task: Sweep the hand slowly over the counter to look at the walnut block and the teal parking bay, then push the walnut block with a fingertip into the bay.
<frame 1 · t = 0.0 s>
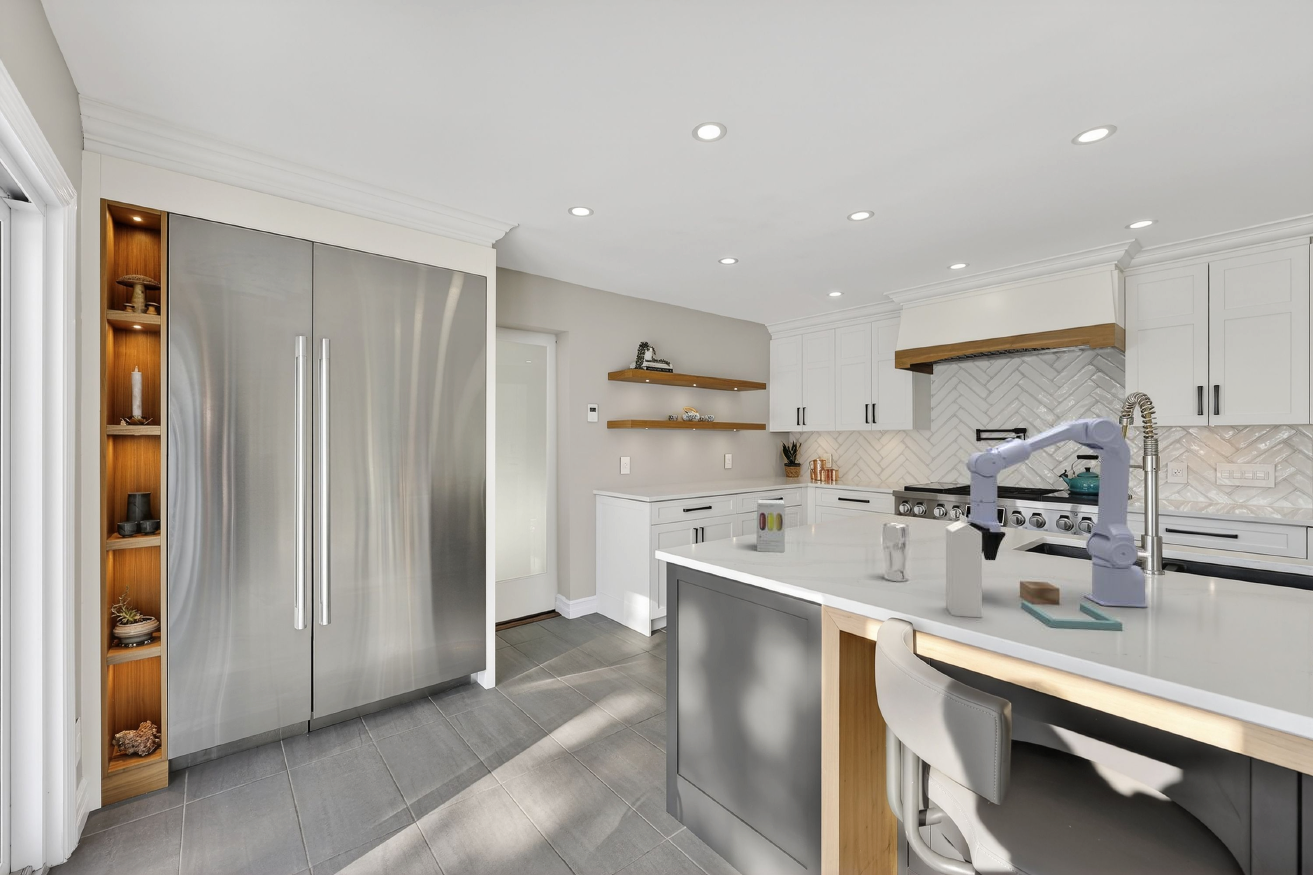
hand: (983, 556, 141), 10 cm above the counter, tool pointing down, fingers open, 7 cm apart
walnut block: (1039, 601, 138), on the counter
beer glass: (895, 579, 159), on the counter
supplement box: (770, 549, 199), on the counter
teal parking bay: (1068, 618, 125), on the counter
milk: (963, 613, 130), on the counter
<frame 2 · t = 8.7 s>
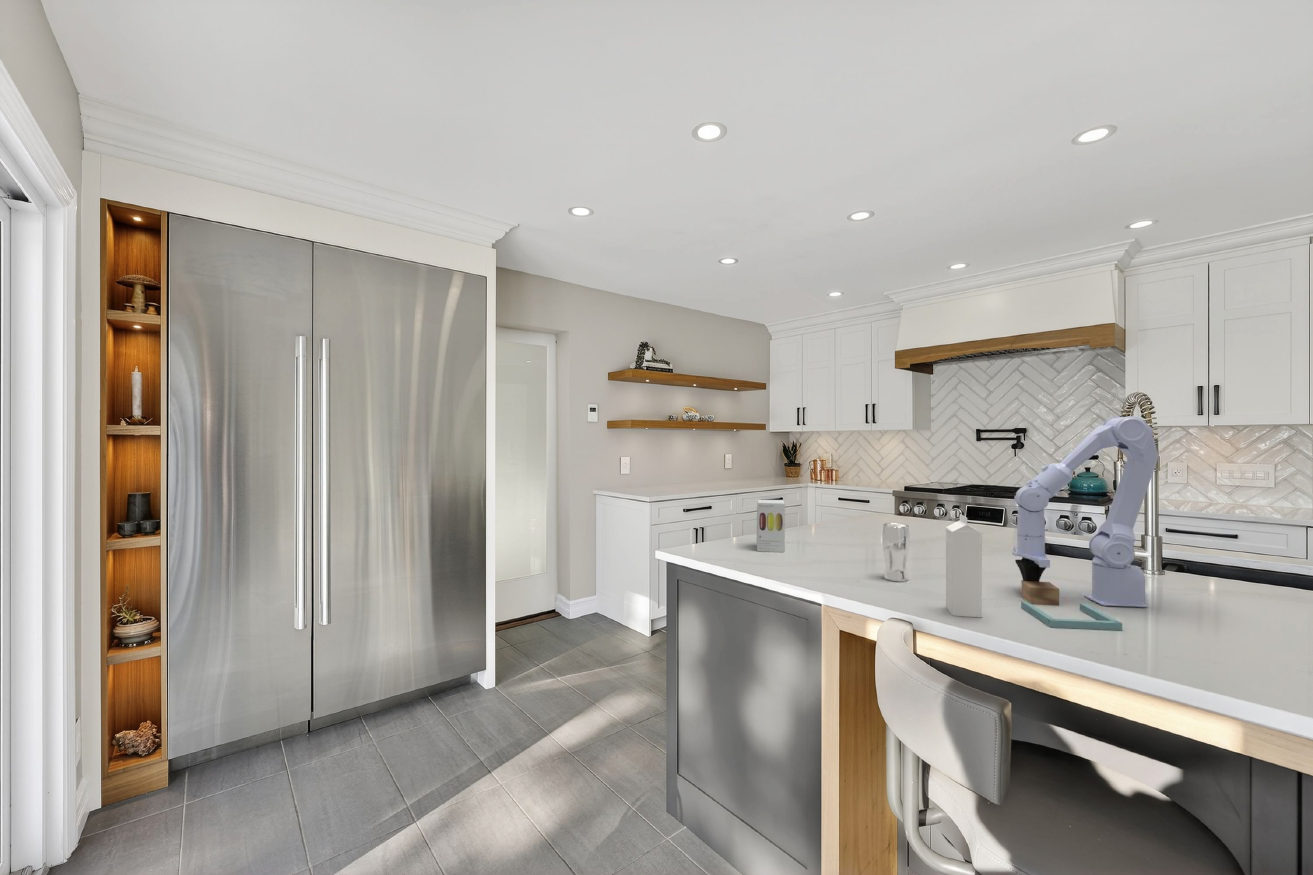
hand: (1030, 589, 142), 1 cm above the counter, tool pointing down, fingers closed
walnut block: (1039, 601, 138), on the counter, touching gripper
everything else where it was.
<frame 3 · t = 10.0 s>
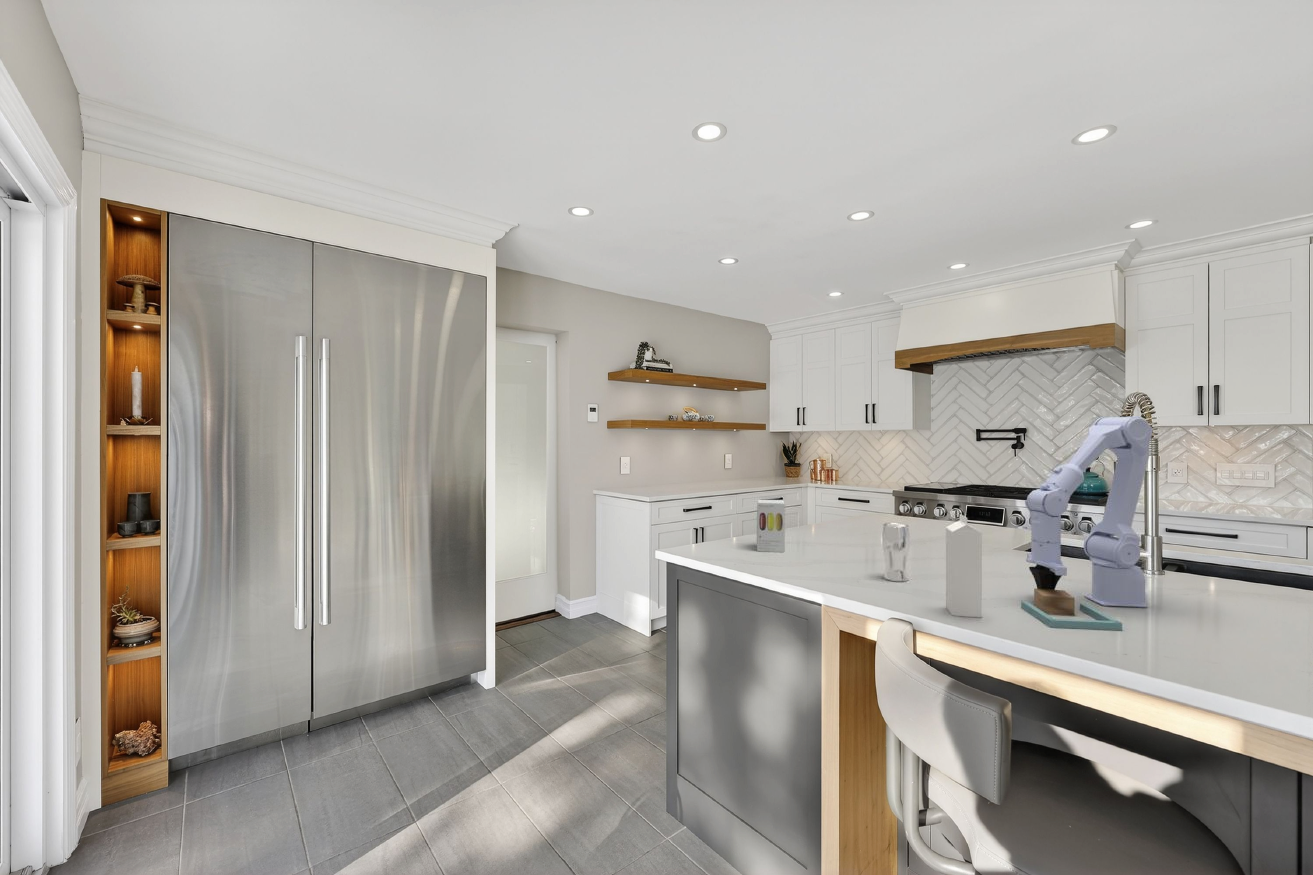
hand: (1045, 598, 135), 1 cm above the counter, tool pointing down, fingers closed
walnut block: (1053, 610, 130), on the counter, touching gripper
everything else where it was.
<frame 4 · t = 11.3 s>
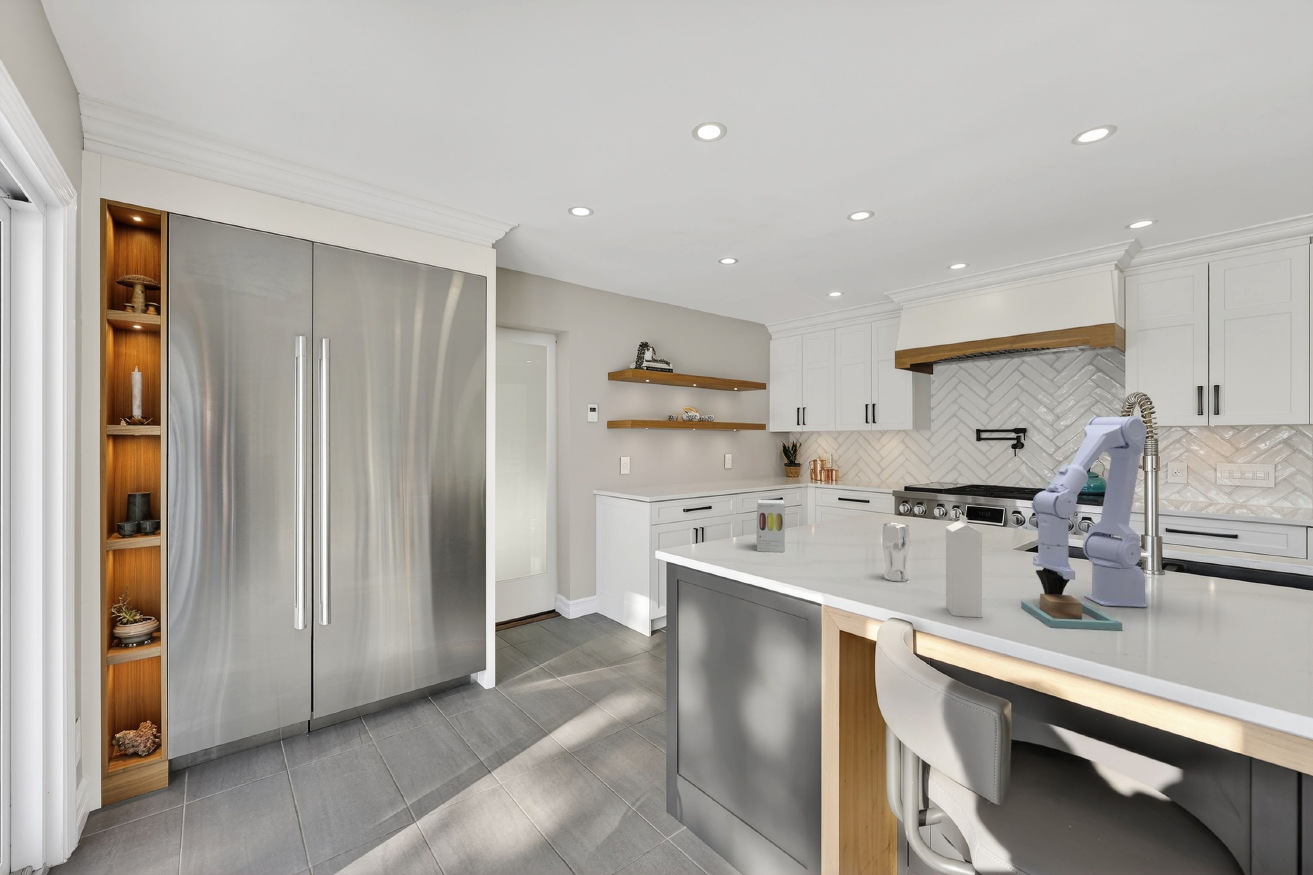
hand: (1053, 602, 132), 1 cm above the counter, tool pointing down, fingers closed
walnut block: (1060, 616, 127), on the counter
everything else where it was.
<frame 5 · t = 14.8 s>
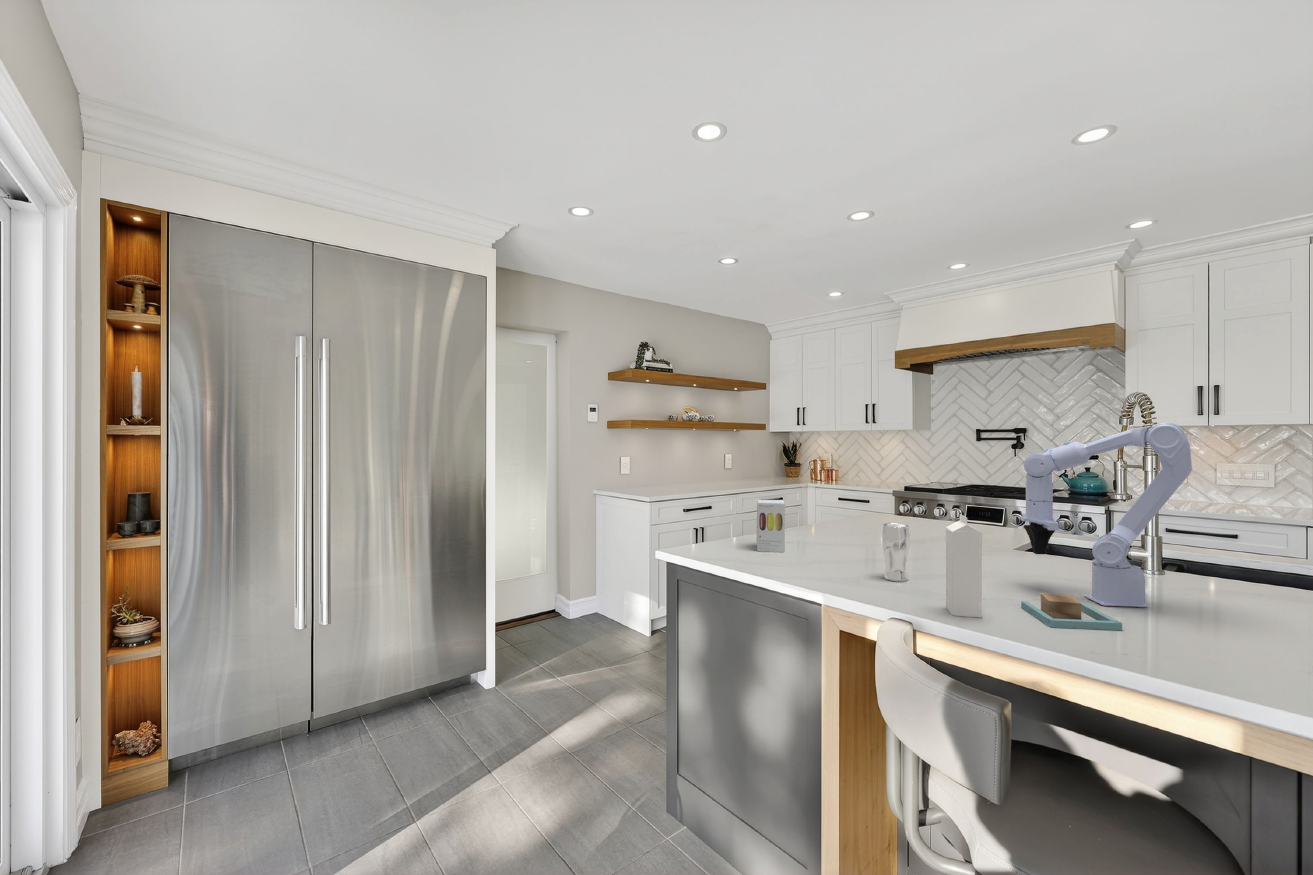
hand: (1039, 553, 146), 9 cm above the counter, tool pointing down, fingers closed
nothing on the counter moved.
at the end: walnut block inside the target area (2.1 cm from its centre), on the counter; walnut block tilted 0°; the gripper is holding nothing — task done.
